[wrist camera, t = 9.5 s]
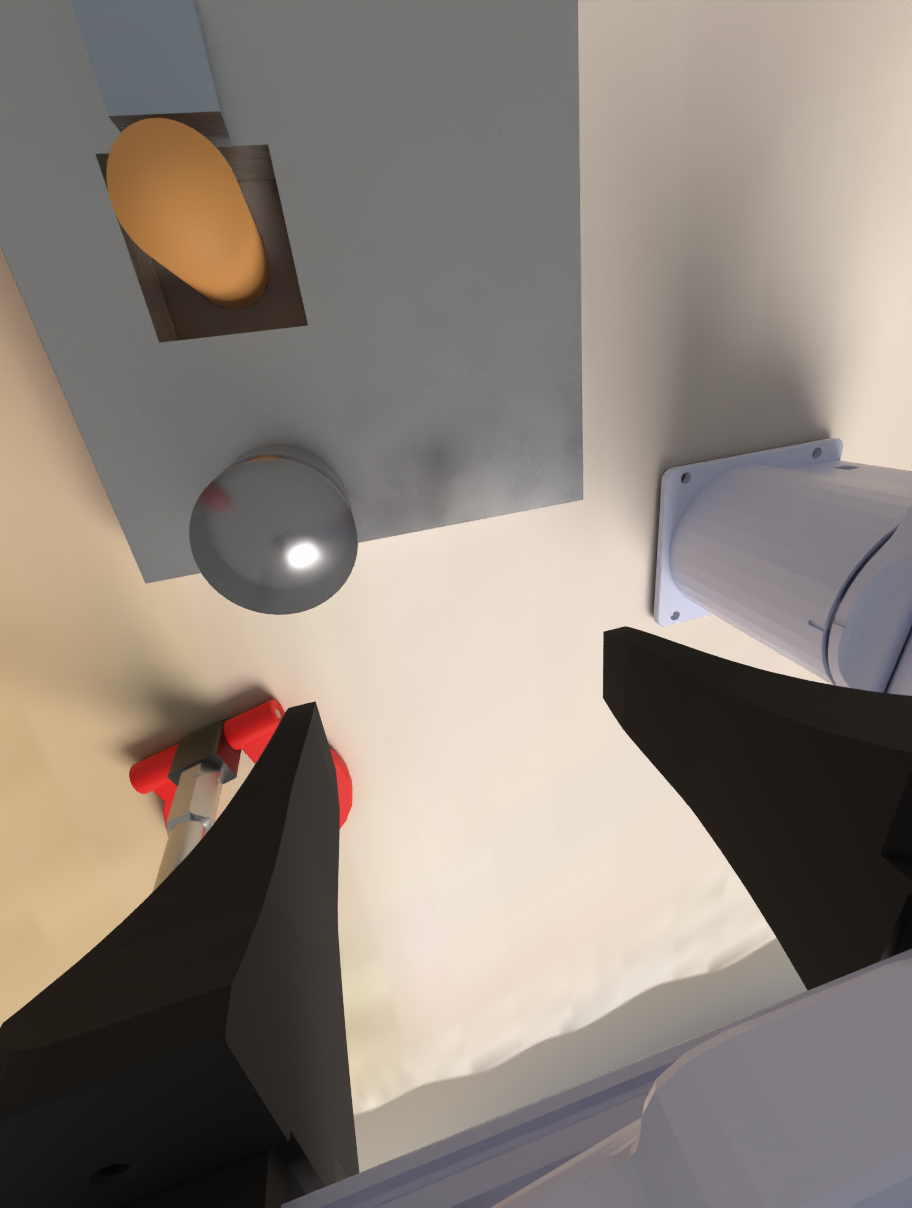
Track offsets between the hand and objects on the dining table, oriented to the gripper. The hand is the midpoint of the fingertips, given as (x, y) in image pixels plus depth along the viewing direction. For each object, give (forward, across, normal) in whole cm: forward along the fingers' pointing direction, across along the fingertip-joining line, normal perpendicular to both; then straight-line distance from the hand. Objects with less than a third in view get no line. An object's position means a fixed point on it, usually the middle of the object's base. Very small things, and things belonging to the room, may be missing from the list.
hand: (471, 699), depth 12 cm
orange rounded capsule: (+10, +4, -11) cm, 16 cm away
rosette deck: (+10, +1, -9) cm, 14 cm away
